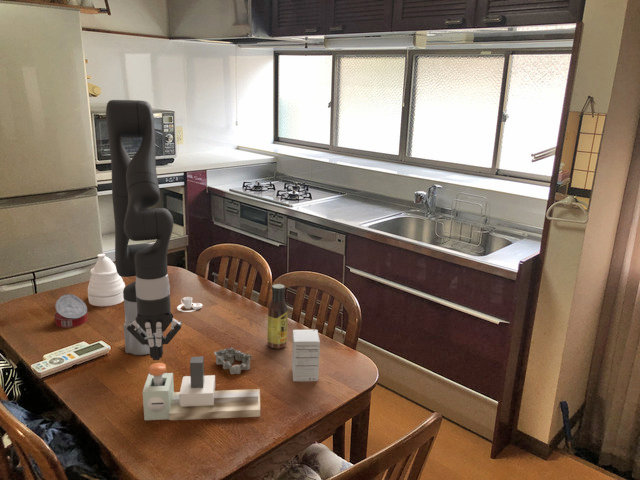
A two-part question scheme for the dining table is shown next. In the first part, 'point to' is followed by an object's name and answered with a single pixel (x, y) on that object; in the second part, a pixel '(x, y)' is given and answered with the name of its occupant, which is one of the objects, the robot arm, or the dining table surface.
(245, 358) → the grey jagged ring
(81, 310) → the canned food
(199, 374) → the carriage
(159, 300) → the robot arm
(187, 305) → the teacup and saucer
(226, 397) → the rail board
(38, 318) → the dining table surface
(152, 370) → the plunger
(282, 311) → the sauce bottle
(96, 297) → the honey pot
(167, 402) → the cabinet
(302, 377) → the supplement box
